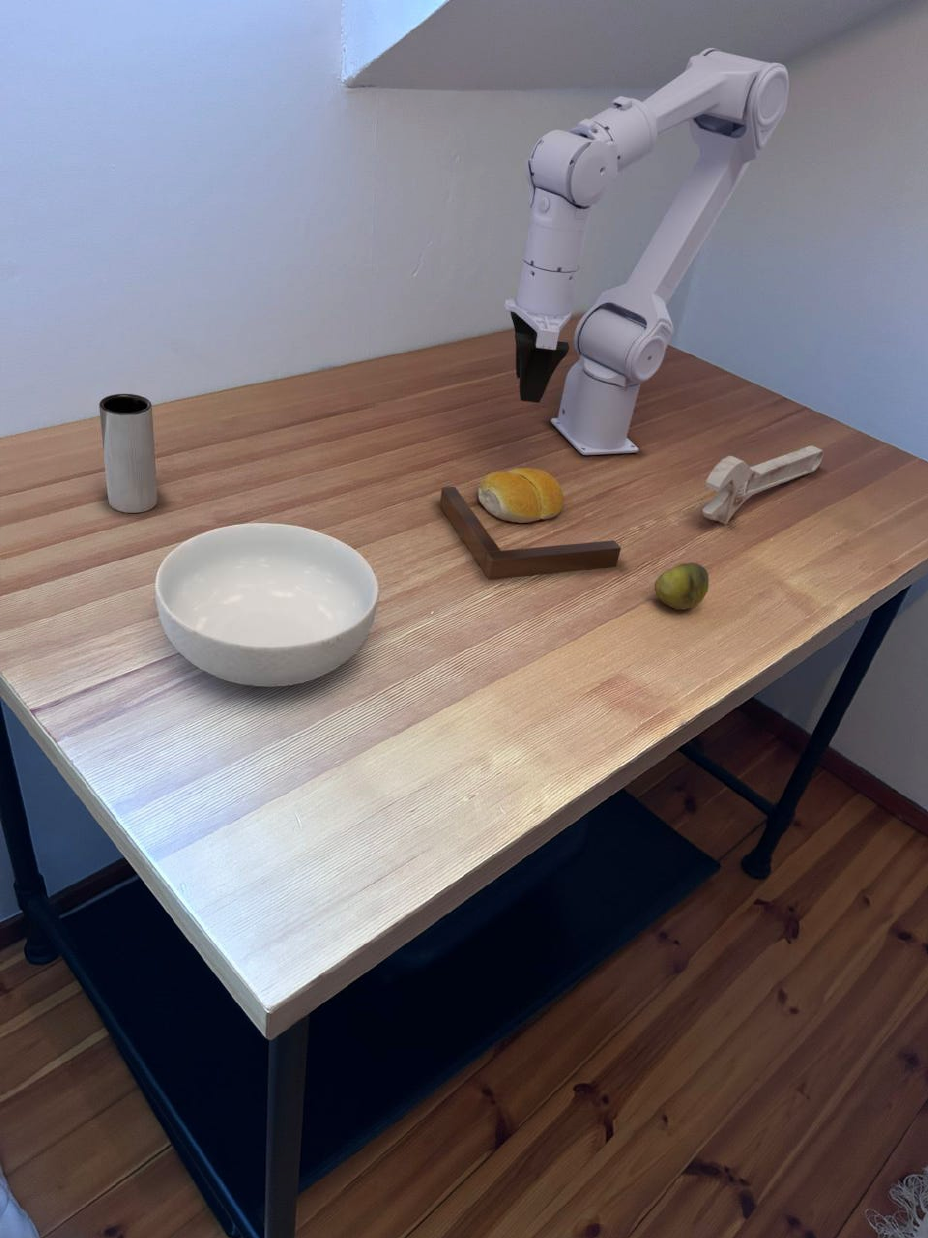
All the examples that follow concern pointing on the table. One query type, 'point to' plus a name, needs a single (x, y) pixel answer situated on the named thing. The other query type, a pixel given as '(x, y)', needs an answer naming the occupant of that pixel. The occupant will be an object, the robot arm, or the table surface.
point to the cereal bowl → (266, 602)
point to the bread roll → (521, 495)
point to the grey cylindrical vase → (129, 452)
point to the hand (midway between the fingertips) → (527, 388)
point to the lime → (682, 585)
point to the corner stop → (521, 559)
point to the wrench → (754, 479)
